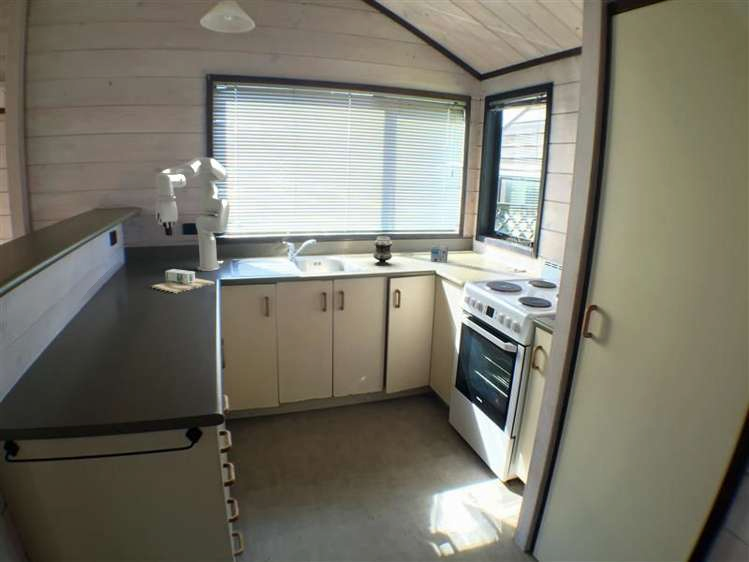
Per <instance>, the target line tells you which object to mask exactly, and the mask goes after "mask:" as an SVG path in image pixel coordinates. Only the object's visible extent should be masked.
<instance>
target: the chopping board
mask: <svg viewBox="0 0 749 562" xmlns="http://www.w3.org/2000/svg"><path fill="white" fill-rule="evenodd" d="M211 284H212V285H214V284H215V281H211V280H207V279H204V278H203V279H202V278H197V277H195V283H192V284H180V283H173V282H166V281H165V282H163V283H159V284H153V285H151V286H150V287H152V288H151V289H153V288H156V289H155V290H157V289H161V290H160V291H162V290H165V291H164V292H166V291H169V292H168V293H170V292H173V293H172V294H175V293H176V294H179V293H178V292H180V293H183V292H182V291H184V292H187V291H186V290H188V291H191V289H192V290H195V288H196V289H200V288H203V286H204V287H207V285H208V286H211ZM199 287H200V288H199Z"/></svg>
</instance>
